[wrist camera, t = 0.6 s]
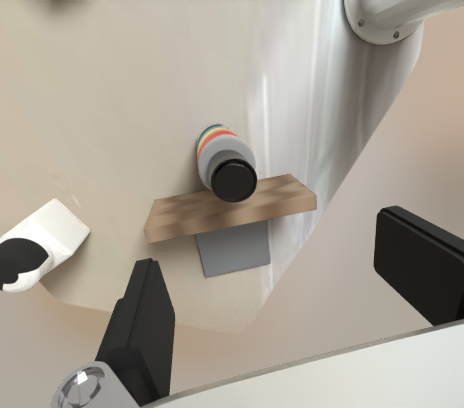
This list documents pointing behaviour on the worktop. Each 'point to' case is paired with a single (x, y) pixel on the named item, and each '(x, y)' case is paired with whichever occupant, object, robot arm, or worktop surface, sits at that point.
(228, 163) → the lotion bottle
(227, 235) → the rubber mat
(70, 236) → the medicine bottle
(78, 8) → the worktop surface
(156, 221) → the brown wooden board
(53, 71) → the worktop surface
